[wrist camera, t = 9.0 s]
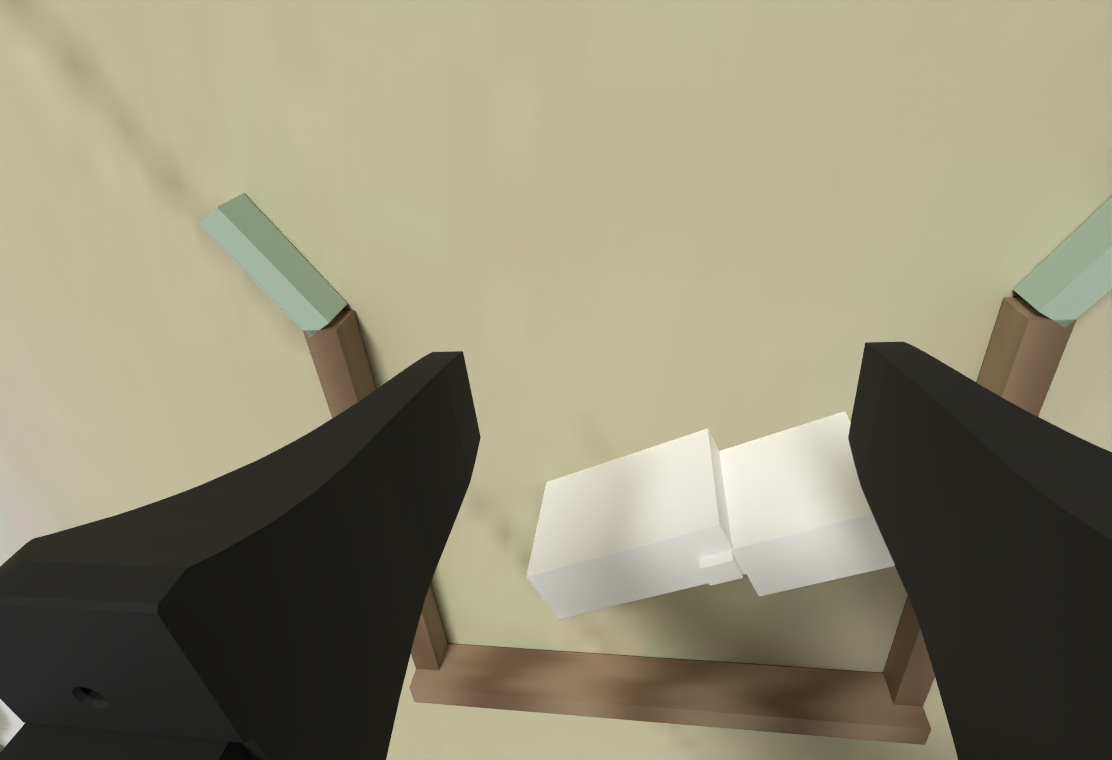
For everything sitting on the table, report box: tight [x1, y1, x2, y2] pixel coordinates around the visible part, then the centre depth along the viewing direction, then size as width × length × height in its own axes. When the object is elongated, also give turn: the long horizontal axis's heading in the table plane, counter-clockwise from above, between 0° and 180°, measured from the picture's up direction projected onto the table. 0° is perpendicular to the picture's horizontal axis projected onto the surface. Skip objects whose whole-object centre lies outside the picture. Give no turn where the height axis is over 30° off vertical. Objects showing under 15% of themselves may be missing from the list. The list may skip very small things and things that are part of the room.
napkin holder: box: [526, 411, 895, 619], centre depth 22 cm, size 15×11×6 cm
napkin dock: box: [199, 193, 1112, 745], centre depth 24 cm, size 28×24×2 cm
